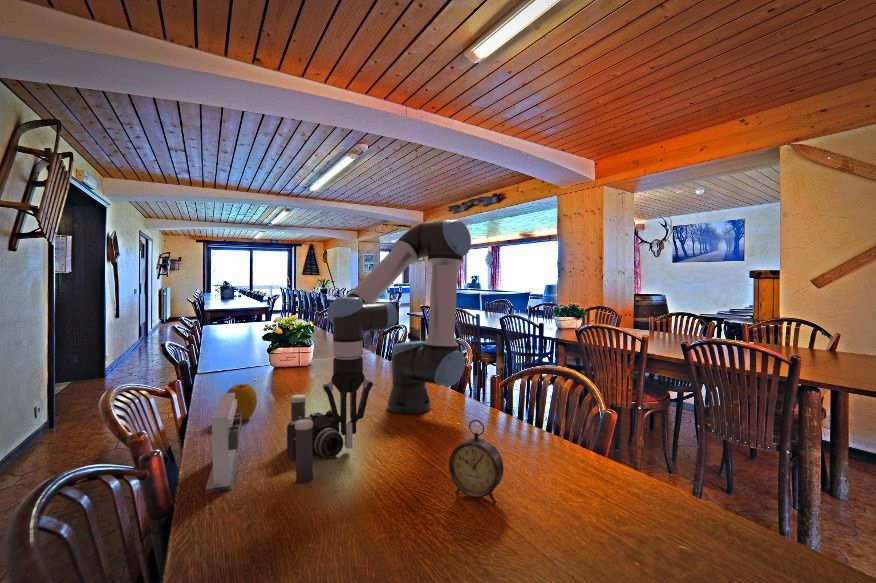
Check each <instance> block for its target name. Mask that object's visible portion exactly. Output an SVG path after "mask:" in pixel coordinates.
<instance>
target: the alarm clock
mask: <svg viewBox="0 0 876 583" xmlns="http://www.w3.org/2000/svg"><path fill="white" fill-rule="evenodd" d="M474 422H477V423H479V424H480V425H481V426H482V430H481V432H480V433H478V432H473V431H472V428H471V425H472V423H474ZM468 429H469V431H470V432H471V434H473V436H474V437H472V438H469V439H466V440H464V441H462V442H461V443H460V444H458V445H457V446H455V447H454V449H453V450H452V451H451V453H450V456H449V458H448V459H449V460H448V470H449V475H450V478H451V480H452V481H453V483H454V485H455V486H456V488H457V489H456V490H455V491H454V493H455V494H456V495H459V492H460V491H461V492H462V493H463V494H465V495H466V496H469V497H472V498H484V497H486V496H489V498H490V500H491V501H492V503H493V504H494V505H495V504H496V503H497V501H496V499H495V497H494V494H493V491H494V490H495V489H496V487H497V486H498V485H499V484H500V483H501V481H502V479H503V476H504V471H505V470H504V469H505V468H504V462H503V457H502V456H501V454H500V452H499V450H498V449H497V448H496V447H495V446H494V445H493V444H492V443H491V442H489V441H488V440H486V439H483V438H481V437H479V436H482V435H483V434H484V432H485V426H484V424H483V422H482V421H480V420H478V419H472V420H471V421H470V422H469V424H468Z"/></svg>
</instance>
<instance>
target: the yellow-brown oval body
mask: <svg viewBox="0 0 876 583" xmlns="http://www.w3.org/2000/svg"><path fill="white" fill-rule="evenodd" d="M256 392H257V391H255V389H254V387H252V386H251V385H250V384H247V383H244V384H243V383H242V384H241V383H240V384H239V383H238V384H237V383H236V384H233V385H232V386H231V387H230V388H228V390H227V392H226V393H235V399H237V408H236V412H235V413H241V418H242V422H243V421H247V420H249V419H250V418H251V417H252V416H253V414H254V413H255V410H256V407H257V403H258V399H257V397H258V396H257V393H256Z"/></svg>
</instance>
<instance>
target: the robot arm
mask: <svg viewBox="0 0 876 583" xmlns="http://www.w3.org/2000/svg"><path fill="white" fill-rule="evenodd" d="M471 246H472V237H471V233H470V232H469V229H468V227H467V224H465V223H464V222H463V221H462V220H458V219H445V220H437V221H436V220H435V221H430V222H428V221H426V222H422V223H418V224H417V225H414V226H413V227H411V228H410V229H409V230H407V231H406V232H405V233H404V234H402V235H401V236H400V237H399V238H398V239H397V240H396V241H395V242H394V244H393V245H392V250H391V251H390V252H388V254H386V256H385V257H384V258H383V259H382V260H381V261H380V262H379V263H378V264H377V265H376V266H375V267H374V268H373V269H372V270H371V271H370V272H369V273H368V274H367V275H366V276H365V277H364V278H363V279H362V280H361V281H360V282H359V283H358V284H357V285H356V286H355V287H354V288H353V289H352V291H351V292H350V293H348V294H347V295H346V296H344V297H343V296H341V297H339V296H338V297H336V298H334V300H333V301H332V302H331V303H330V304H329V306H328V307H327V312H326V313H327V315H326V316H327V319H328V321H329V322H330V323H331V324H332V354H333V357H334V358H333V359H332V365H333V366H332V377H331V379H330V381H329V382H327V383H325V384H323V385H322V388H323V390H324V392H325V393H326V395H327V398H328V402H329V407H330V409H331V410H332V414H333V418H334V420H335V422H339V424H340V434H341V436H344V446H345V448H346V449H353V435H355V434H356V433H357V422H358V421H359V420H362V419H363V418H364V416H365V411H366V406H367V403H368V398H369V395H370V394H369V393H370V391H371V389H372V388H373V386H374V383H373V382H372V380H370V379H367V378H366V376H365V374H364V371H363V370H364V365H363V362H364V361H363V360H364V359H363V357H362V355H364V354H363V352H364V351H363V350H364V348H363V345H364V344H363V339H364V338H363V335H364V333H365V332H371V331H372V332H373V331H381V330H382V331H385V330H389V329H391V328H393V327H395V325H396V324H397V322H398V311H397V308H396V306H395V305H394V304H393V303H391V302H382V301H380V302H377V301H378V299H379V298H381V296H383V294H384V293H385V292H386V291H387V290H388V289H389V287H391V285H392V284H393V283H394V282H395V281H396V280H397V279H398V277H399V276H400V275H401V274H402V273H403V272H405V270H406V269H407V268H408V267H409V265H410V266H411V265H415V263H416V262H417V261H418V260H420V259H422V258H426V257H427V261H428V263H430V265H431V276H430V277H431V279H430V300H429V316H428V317H429V318H428V336H427V339H426V340H424V341H423V340H417V341H407V342H406V341H405V342H399V343H396V344H394V345H393V347H392V351H391V352H392V354H391V372H392V374H391V375H392V376H391V378H392V379H391V380H392V384H391V385H392V386H391V389H390V393H389V396H388V399H387V405H386V406H387V407H386V408H387V410H388V411H389V412H392V413H395V414H398V415H400V414H401V415H416V414H422V413H425V412H427V411H429V410H431V408H432V407H431V406H432V404H431V398H430V394H429V391H428V389H427V384H426V383H429V384H433V385H436V386H439V387H440V386H445V387H450V386H453V385H456V384H457V383H458V382H459V380H460V378H461V377H462V376H463V374H464V372H465V367H466V360H465V357H464V354H463V353H462V352H461V351H460V350H459V343H458V341H456V339H455V331H456V328H455V327H456V309H457V291H458V290H457V289H458V274H459V273H458V272H459V266H460V265H462V263H463V261H464V256H466V255H467V254H469V252H470V249H471ZM361 385H362V387H363V388H362V392H361V396H360V398H359V399H360V400H359V403H358V408H357V396H358V392H357V391H358V390H359V388H360V387H361ZM333 386H334V387H335V388H336V389H337V391H338V392H339V396H340V397H339V398H340V399H339V402H340V404H339V405H340V407H339V409H340V410H339V413H338V408H337V404H336V401H335V397H334V394H333V390H334V387H333ZM348 393H349V405H350V406H349V407H350V408H349V412H350V414H349V417H350V418H349V419H347V418H348V417H347V413H348V412H347V397H348V395H347V394H348ZM338 414H339V415H338Z"/></svg>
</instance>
